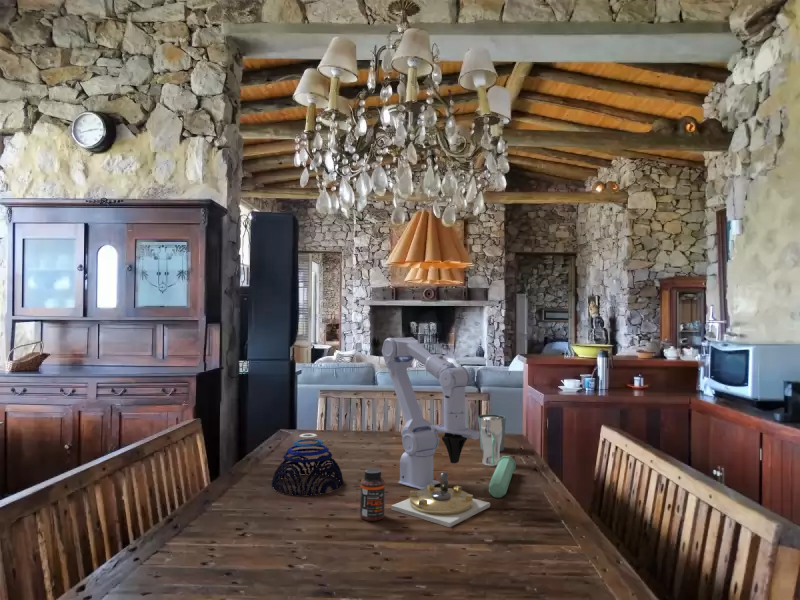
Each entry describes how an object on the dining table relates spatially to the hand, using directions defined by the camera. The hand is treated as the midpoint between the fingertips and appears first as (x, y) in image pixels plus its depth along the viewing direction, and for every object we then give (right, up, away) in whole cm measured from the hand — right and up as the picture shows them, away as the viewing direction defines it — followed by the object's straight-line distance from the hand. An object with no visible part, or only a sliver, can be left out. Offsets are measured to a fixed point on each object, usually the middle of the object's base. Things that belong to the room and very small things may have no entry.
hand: (454, 462), depth 147 cm
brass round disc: (-4, -8, -8) cm, 12 cm away
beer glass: (+16, -11, +34) cm, 39 cm away
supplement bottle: (-21, -9, -15) cm, 28 cm away
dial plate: (-4, -9, -8) cm, 13 cm away
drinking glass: (+19, -11, +53) cm, 57 cm away
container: (+15, -10, +11) cm, 21 cm away
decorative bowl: (-41, -10, +11) cm, 44 cm away
